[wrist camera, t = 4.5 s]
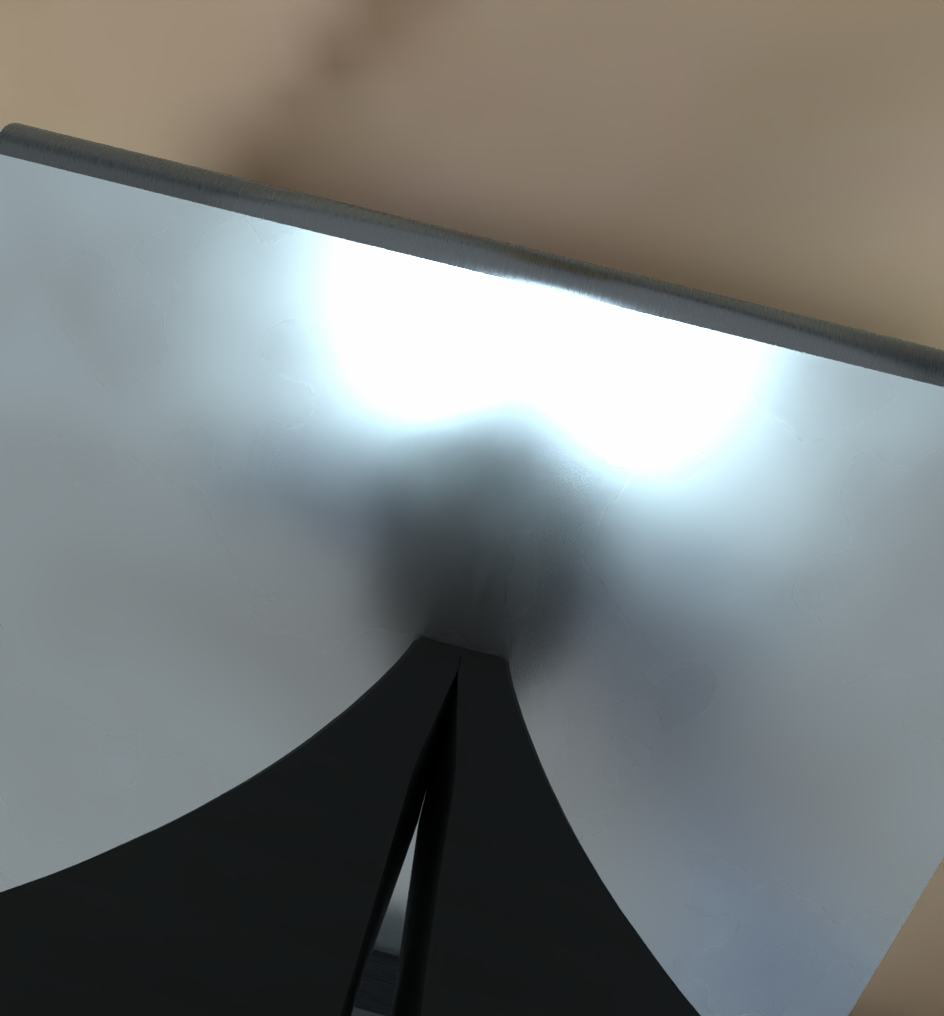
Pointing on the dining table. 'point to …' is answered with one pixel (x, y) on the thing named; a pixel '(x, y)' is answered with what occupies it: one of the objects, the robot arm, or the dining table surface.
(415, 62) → the dining table surface
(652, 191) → the dining table surface
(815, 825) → the steel lid
